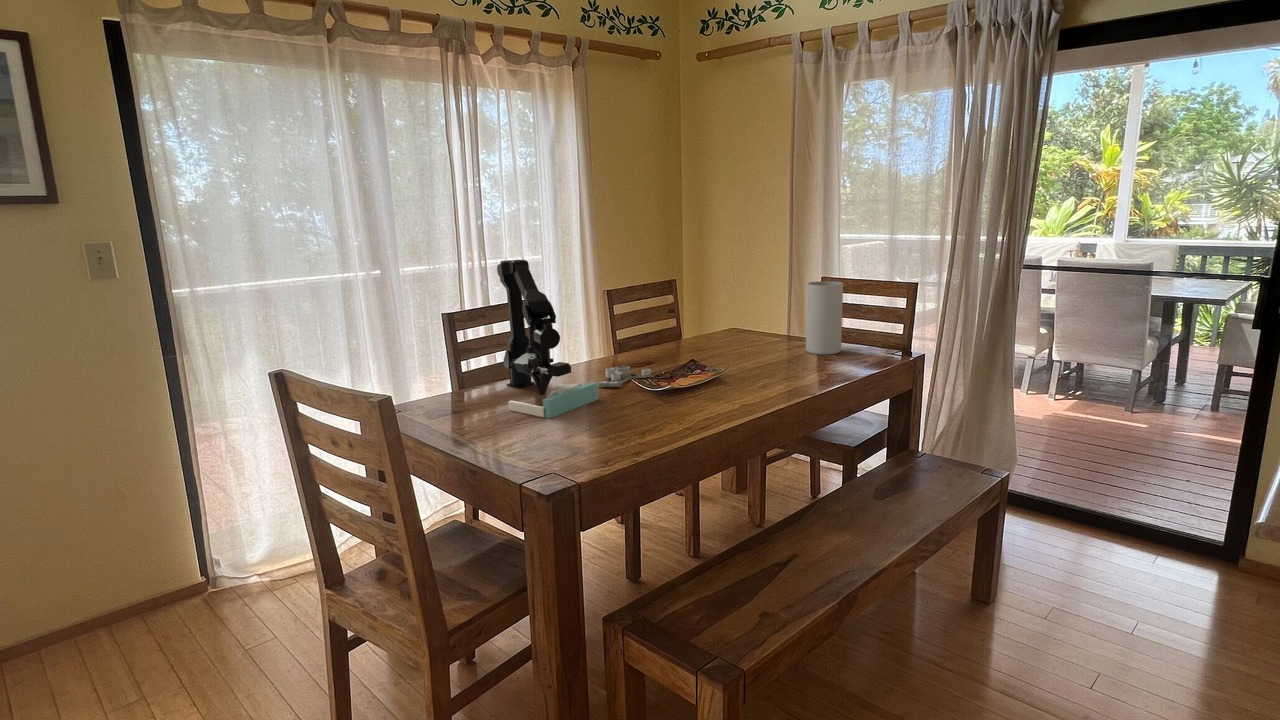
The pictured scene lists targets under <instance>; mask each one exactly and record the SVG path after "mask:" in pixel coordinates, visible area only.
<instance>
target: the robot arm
mask: <svg viewBox="0 0 1280 720" xmlns="http://www.w3.org/2000/svg"><path fill="white" fill-rule="evenodd" d="M496 272H497V275H498V277H499V281H500V283H501V284H502V285H503V287H504V288H505V290H506V299H507V311H508V318H509V319H508V320H509V330H510V331H509V332H510V336H509V338H508V340H507V342H506V349H505V353H504V357H503V365H504V367H505V368H506V369H507V370H508V372H509V373H508V374H509V383H506V386H507V387H513V388H519V389H523V388H525V387H529V386H532V385H534V384H535V386H536V389H537V391H538V393H539V395H540V396H545V394H546V393H547V391H548V388H549V385H550V382H551V380H552V378H553V377H555V378H556V377H563V376H565V375H568V374H571V373H572V365H571V364H570V363H568V362H562V361H558V362H555V363H554V358H551V351H550V350H552V349H554V348H556V347H558V345H559V343H560V341H561V336H560V333H559V332H558V330H556V329H555V328H553V324H556V323H557V321H556V319H557V315H556V313H555V310H554V306H553V305H552V303H551V302H550V300H549V299H548V297H547V296H546V294H545V293H543V292H541V290H539V289H538V286H537V284H536V281H535V279H534V277H533V275H532V273H531V270H530V264H529V262H528V260H525V259H507V260H501V261H500V263H499V264H497V266H496ZM525 322H526V323H525ZM525 324H527V329H528V330H527V332H528V336H527V335H526V325H525ZM532 379H533V381H532Z"/></svg>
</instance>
